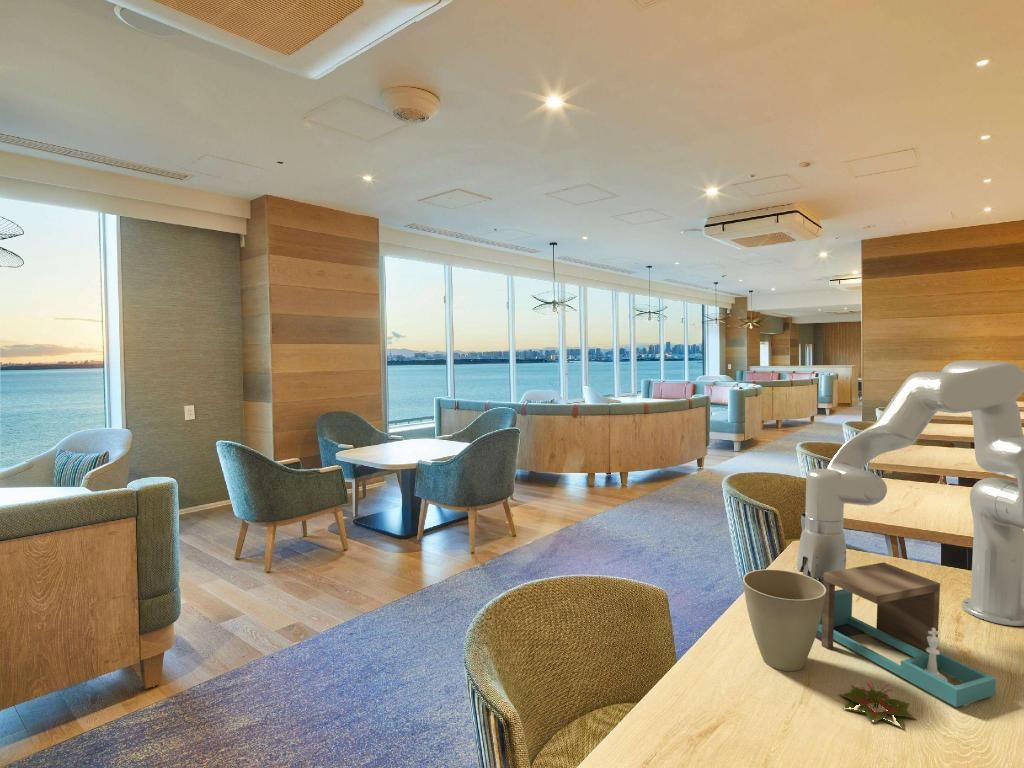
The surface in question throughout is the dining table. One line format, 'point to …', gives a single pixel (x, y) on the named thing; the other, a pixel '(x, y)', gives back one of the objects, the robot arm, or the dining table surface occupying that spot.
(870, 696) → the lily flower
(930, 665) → the chess piece
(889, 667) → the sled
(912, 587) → the tunnel
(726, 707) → the dining table surface
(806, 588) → the plant pot
